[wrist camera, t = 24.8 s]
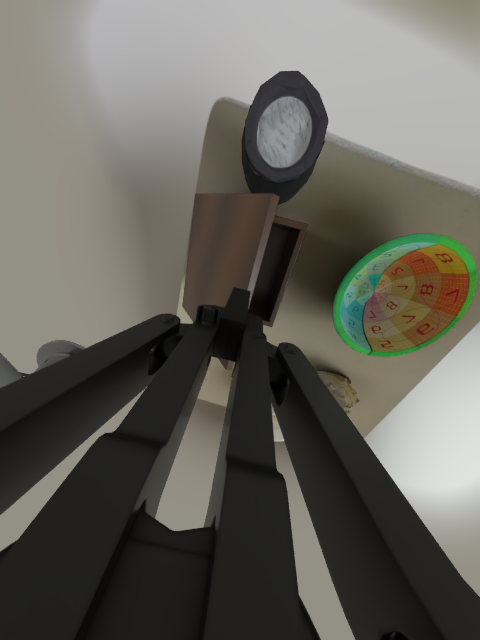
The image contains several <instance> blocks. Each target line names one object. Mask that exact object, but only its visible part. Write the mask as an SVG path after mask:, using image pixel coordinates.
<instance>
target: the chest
mask: <svg viewBox="0 0 480 640" xmlns="http://www.w3.org/2000/svg"><path fill="white" fill-rule="evenodd" d="M307 227H308V224H305V223H301V222H297V221H293V220H290V219H286V218H282V217H278V216H274V219H273V223H272V227H271V230H270V234H269V237H268V241H267V245H266V248H265V252H264V255H263V259H262V262H261V266H260V270H259V273H258V277H257V280H256V284H255V288H254V291H253V295H252V298H251V302H250V306H249V309H248V313H250V314H254V315H258V316H260V317H261V318H262V321H263V325H266V326H270V327H272V326H273V323H274V320H275V318H276V315H277V312H278V309H279V306H280V303H281V301H282V298H283V295H284V292H285V289H286V286H287V284H288V281H289V278H290V275H291V272H292V269H293V267H294V264H295V261H296V258H297V255H298V252H299V250H300V247H301V244H302V241H303V238H304V235H305V233H306V230H307Z"/></svg>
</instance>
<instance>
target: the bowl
mask: <svg viewBox="0 0 480 640" xmlns="http://www.w3.org/2000/svg"><path fill="white" fill-rule="evenodd" d="M476 285H477V269H476V265H475V262H474V259H473V258H472V256H471V254H470V253H469V251H468V250H467V249H466V248H465V247H464V246H463V245H462V244H460V243H459V242H457V241H455V240H454V239H452V238H449V237H446V236H443V235H438V234H431V233H426V234H413V235H407V236H403V237H400V238H397V239H394V240H391V241H389V242H387V243H385V244H382V245H380V246H379V247H377V248H375V249H374V250H372V251H371V252H369V253H368V254H366V255H365V256H364V257H363V258H361V259H360V260H359V261H358V262H357V263H356V264H355V265H354V266H353V267H352V268H351V269H350V270H349V271H348V272H347V274H346V275H345V276H344V278H343V279H342V281H341V283H340V285H339V287H338V289H337V292H336V295H335V298H334V303H333V322H334V326H335V328H336V331H337V333H338V335H339V336H340V338H341V339H342V340H343V341H344V342H345V343H346V344H347V345H348V346H350V347H351V348H352V349H354V350H356V351H358V352H360V353H363V354H367V355H371V356H379V357H389V356H398V355H403V354H407V353H410V352H413V351H416V350H419V349H421V348H423V347H426V346H428V345H429V344H431V343H433V342H435V341H436V340H438V339H439V338H441V337H442V336H443V335H445V334H446V333H447V332H448V331H449V330H450V329H452V328H453V327H454V326H455V325H456V324H457V322H458V321H459V320H460V319H461V318H462V316H463V315H464V314H465V312H466V311H467V309H468V307H469V305H470V303H471V301H472V299H473V297H474V293H475V290H476Z"/></svg>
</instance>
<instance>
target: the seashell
mask: <svg viewBox="0 0 480 640" xmlns="http://www.w3.org/2000/svg"><path fill="white" fill-rule="evenodd" d="M316 372H317V374H318V375H319V377H320V378H321V379H322V381H323V382H324V384H325V385H326V386H327V388H328V389H329V391H330V392H331V394H332V395H333V396H334V398H335V399H336V401H337V402H338V403H339V405H340V406H341V408H342V409H343V410H344V412H346V414H348V413H350V411H349V408H351V407H352V406H353V404H354V403H357V402H359V401H360V400H358V399H357V397H356V393H357V392H355V390H354V389H353V387H352V386H351V385H350V383H351V381H350V380H349V377H342V376H341V375H338V374H334V373H330V372H327V371H316Z"/></svg>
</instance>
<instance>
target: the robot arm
mask: <svg viewBox="0 0 480 640" xmlns="http://www.w3.org/2000/svg"><path fill="white" fill-rule="evenodd" d="M250 292H251V291H248V290H244V289H240V288H236V287H234V288H233V290H232V292H231V294H230V297H229V299H228V301H227V303H226V305H225V307H221V306H217V305H204V304H203V305H199V306H198V307H197V314H196V320H195V321H194V323H193V324H182V323H180V318H179V317H177V316H176V315H172V314H160V315H157V316H155V317H153V318H151V319H148V320H146V321H144V322H142V323H140V324H138V325H136V326H133V327H131V328H129V329H127V330H125V331H123V332H120V333H118V334H116V335H114V336H112V337H109V338H107V339H105V340H103V341H101V342H99V343H96V344H94V345H92V346H90V347H88V348H86V349H83V350H81V351H79V352H77V353H75V354H73V355H72V354H69V353H56V354H53V355H52V356H50V357H48V358H47V359H46V360H45V361H44V362H43V364H42V365H41V366H40V367H39V368H38V369H37V370H36V371H35V372H34V373H32V374H25V373H20V372H18V371H17V370H16V369H15V368H14V367H13V366H12V365H11V363H10V362H9V361H8V360H7V359H6V358H5V357H4V356H3V355H2V354H1V353H0V515H1V514H2V513H3V512H4V511H6V510H7V509H8V508H9V507H10V506H11V505H12V504H14V503H15V502H16V501H17V500H18V499H19V498H20V497H22V496H23V495H24V494H25V493H26V492H27V491H28V490H30V489H31V488H32V487H33V486H34V485H35V484H36V483H37V482H39V481H40V480H41V479H42V478H43V477H44V476H45V475H47V474H48V473H49V472H50V471H51V470H52V469H54V468H55V467H56V466H57V465H58V464H59V463H60V462H61V461H63V460H64V459H65V458H66V457H67V456H68V455H69V454H71V453H72V452H73V451H74V450H75V449H76V448H77V447H79V446H80V445H81V444H82V443H83V442H84V441H85V440H87V439H88V438H89V437H90V436H91V435H92V434H93V433H94V432H96V430H98V429H99V428H100V427H101V426H102V425H104V424H105V423H106V422H107V421H108V420H109V419H110V418H112V417H113V416H114V415H115V414H116V413H117V412H118V411H120V410H121V409H122V408H123V407H124V406H125V405H126V404H127V403H129V402H130V401H131V400H132V399H133V398H134V397H136V396H137V395H138V394H139V393H140V392H141V391H142V390H144V389H145V388H146V387H147V386H148V387H147V388H146V389H145V391H144V392H143V394H142V395H141V396H140V398H139V399H138V400H137V402H136V403H135V405H134V406H133V408H132V409H131V410H130V412H129V413H128V415H127V416H126V417H125V419H124V420H123V421H122V423H121V424H120V426H119V427H118V428H117V429H116V430H115V431H114V432H112V433H105V434H103V435H102V436H101V437H99V438H98V439H97V440H96V441H95V443H94V444H93V445H92V446H91V447H90V448H89V450H88V451H87V452H86V454H85V455H84V456H83V457H82V459H81V460H80V461H79V463H78V464H77V465H76V466H75V467H74V469H73V470H72V471H71V473H70V474H69V475H68V476H67V478H66V479H65V480H64V482H63V483H62V484H61V485H60V487H59V488H58V489H57V490H56V492H55V493H54V494H53V496H52V497H51V498H50V499H49V501H48V502H47V503H46V504H45V506H44V507H43V508H42V510H41V511H40V512H39V513H38V515H37V516H36V517H35V519H34V520H33V521H32V522H31V524H30V525H29V526H28V527H27V529H26V530H25V531H24V533H23V534H22V535H21V536H20V538H19V539H18V540H17V541H15V542H14V543H12V544H10V545H9V546H8V547H6V548H5V549H4V550H2V551H1V552H0V640H321V639H320V637H319V635H318V633H317V631H316V628H315V627H314V625H313V622H312V620H311V618H310V616H309V614H308V612H307V610H306V608H305V606H304V604H303V602H302V600H301V598H300V596H299V594H298V585H297V576H296V567H295V558H294V548H293V539H292V531H291V522H290V513H289V503H288V494H287V488H286V482H285V479H284V477H283V475H282V474H281V473H279V472H278V471H277V468H276V460H275V446H274V433H273V419H272V406H273V409H274V412H275V415H276V418H277V421H278V424H279V427H280V430H281V432H282V435H283V438H284V441H285V444H286V447H287V450H288V453H289V456H290V459H291V461H292V465H293V467H294V470H295V473H296V476H297V479H298V482H299V485H300V488H301V491H302V494H303V497H304V500H305V503H306V505H307V508H308V511H309V514H310V517H311V520H312V523H313V526H314V529H315V532H316V535H317V537H318V540H319V544H320V546H321V549H322V552H323V555H324V558H325V561H326V564H327V567H328V569H329V573H330V576H331V578H332V581H333V584H334V587H335V590H336V592H337V595H338V597H339V600H340V603H341V606H342V608H343V611H344V614H345V616H346V619H347V621H348V623H349V625H350V628H351V630H352V633H353V635H354V637H355V639H356V640H480V597H479V596H478V595H477V594H476V593H475V592H474V590H473V589H472V588H471V587H470V586H469V585H468V584H467V583H466V582H465V581H464V579H463V578H462V577H461V576H460V574H459V573H458V571H457V570H456V568H455V567H454V566H453V564H452V563H451V561H450V560H449V559H448V557H447V556H446V554H445V553H444V551H443V550H442V549H441V547H440V546H439V544H438V543H437V542H436V540H435V539H434V537H433V536H432V535H431V533H430V532H429V530H428V529H427V527H426V526H425V525H424V523H423V522H422V520H421V519H420V518H419V516H418V515H417V513H416V512H415V511H414V509H413V508H412V506H411V505H410V504H409V502H408V501H407V499H406V498H405V497H404V495H403V494H402V492H401V491H400V489H399V488H398V487H397V485H396V484H395V482H394V481H393V480H392V478H391V477H390V475H389V474H388V472H387V471H386V470H385V468H384V467H383V466H382V464H381V463H380V461H379V460H378V458H377V457H376V456H375V454H374V453H373V451H372V450H371V449H370V447H369V446H368V444H367V443H366V442H365V440H364V439H363V437H362V436H361V434H360V433H359V432H358V430H357V429H356V427H355V426H354V425H353V423H352V422H351V420H350V419H349V417H348V416H347V415H346V413H345V412H344V410H343V409H342V408H341V406H340V405H339V403H338V402H337V401H336V399H335V398H334V396H333V395H332V394H331V392H330V391H329V389H328V388H327V386H326V385H325V384H324V382H323V381H322V379H321V378H320V377H319V375H318V374H317V372H316V371H315V370H314V368H313V367H312V365H311V364H310V362H309V361H308V360H307V358H306V357H305V355H304V354H303V353H302V351H301V350H300V349H299V348H298V347H296V346H295V345H293V344H291V343H280V344H279V345H278V347H277V346H274V345H272V344H270V343H269V342H267V339H266V335H265V334H264V333H263V321H262V318H261V317H260V316H258V315H254V314H250V313H248V307H249V299H250ZM152 349H153V350H152ZM212 353H213V354H212ZM212 356H213V357H217V358H221V359H225V360H229V361H233V362H235V366H234V369H233V373H232V376H231V377H232V381H231V387H230V392H229V398H228V403H227V409H226V414H225V419H224V425H223V430H222V436H221V442H220V447H219V452H218V458H217V463H216V469H215V474H214V479H213V485H212V491H211V496H210V501H209V506H208V511H207V515H206V519H205V524H204V528H197V529H191V530H184V531H172V530H170V529H169V528H167V527H166V526H164V525H163V524H162V523H160V522H159V521H157V520H156V519H155V516H156V513H157V509H158V505H159V502H160V498H161V495H162V492H163V489H164V487H165V484H166V481H167V478H168V476H169V473H170V470H171V468H172V464H173V462H174V459H175V456H176V454H177V451H178V449H179V445H180V443H181V440H182V437H183V435H184V432H185V429H186V427H187V424H188V421H189V418H190V416H191V413H192V410H193V407H194V405H195V402H196V399H197V397H198V394H199V391H200V389H201V386H202V383H203V380H204V378H205V375H206V372H207V370H208V367H209V364H210V361H211V357H212ZM23 376H25V377H23ZM271 403H272V406H271Z"/></svg>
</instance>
